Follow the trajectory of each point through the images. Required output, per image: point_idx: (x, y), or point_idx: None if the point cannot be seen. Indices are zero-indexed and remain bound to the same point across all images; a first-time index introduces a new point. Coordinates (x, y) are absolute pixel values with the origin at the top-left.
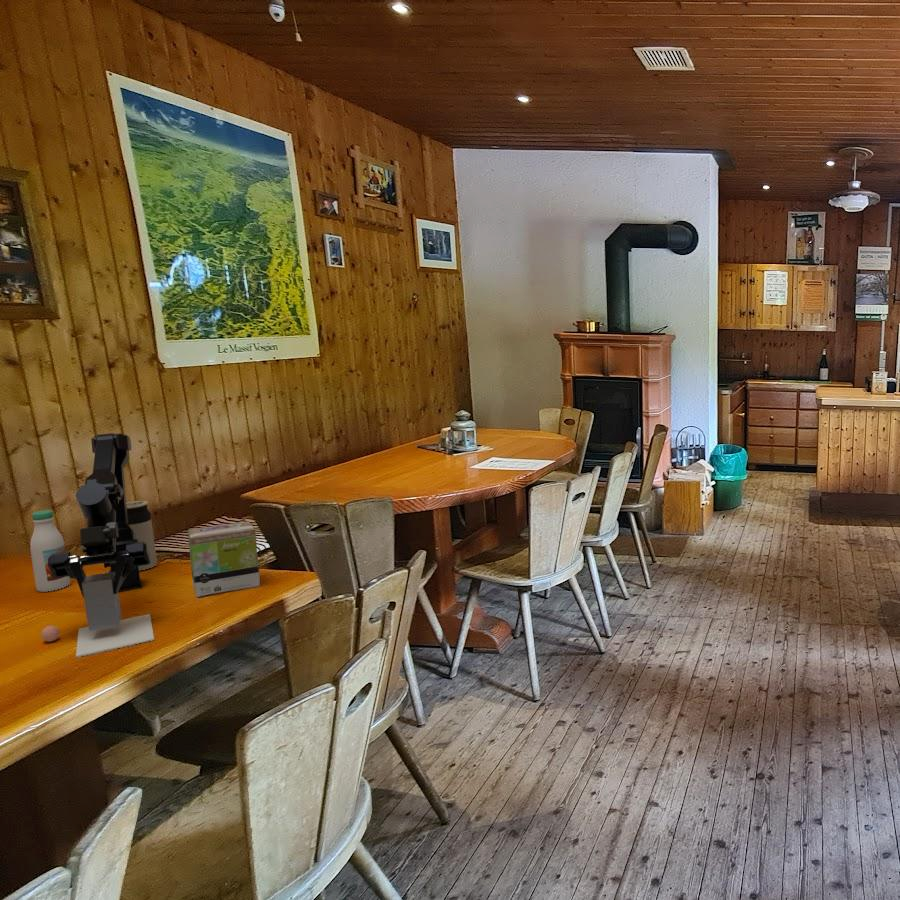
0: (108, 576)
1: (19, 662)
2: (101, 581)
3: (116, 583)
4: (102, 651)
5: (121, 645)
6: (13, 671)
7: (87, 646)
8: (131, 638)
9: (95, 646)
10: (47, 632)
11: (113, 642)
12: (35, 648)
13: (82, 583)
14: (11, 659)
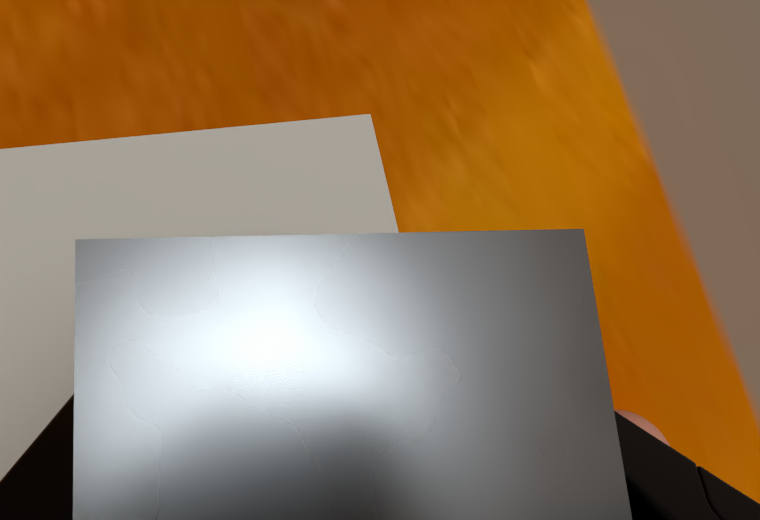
0: (181, 513)
1: (628, 203)
2: (275, 238)
3: (51, 458)
4: (234, 130)
5: (121, 148)
6: (610, 105)
7: (341, 231)
8: (64, 244)
9: (292, 210)
10: (631, 418)
11: (186, 226)
12: (628, 368)
13: (577, 242)
14: (680, 260)
